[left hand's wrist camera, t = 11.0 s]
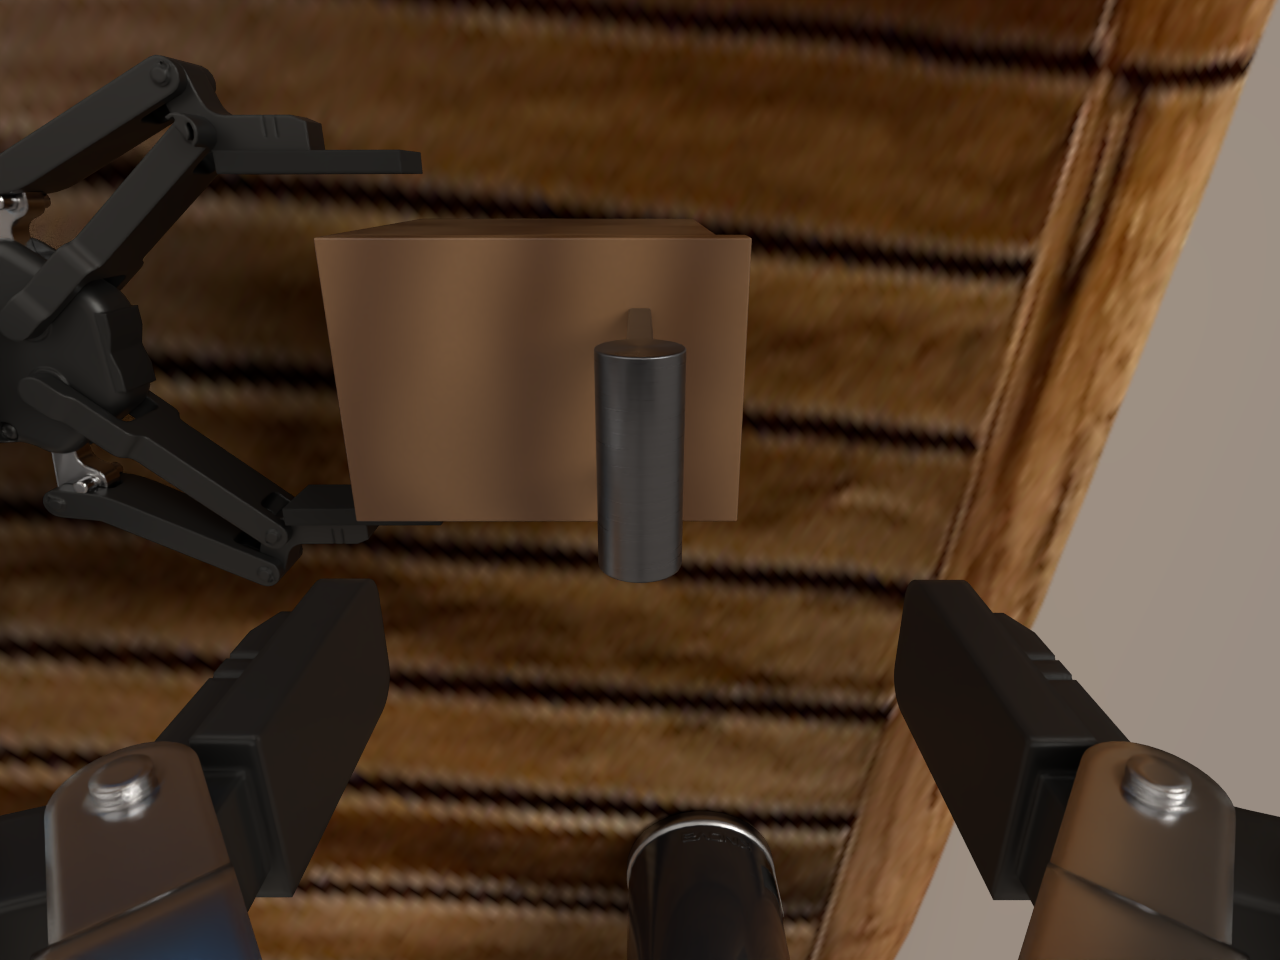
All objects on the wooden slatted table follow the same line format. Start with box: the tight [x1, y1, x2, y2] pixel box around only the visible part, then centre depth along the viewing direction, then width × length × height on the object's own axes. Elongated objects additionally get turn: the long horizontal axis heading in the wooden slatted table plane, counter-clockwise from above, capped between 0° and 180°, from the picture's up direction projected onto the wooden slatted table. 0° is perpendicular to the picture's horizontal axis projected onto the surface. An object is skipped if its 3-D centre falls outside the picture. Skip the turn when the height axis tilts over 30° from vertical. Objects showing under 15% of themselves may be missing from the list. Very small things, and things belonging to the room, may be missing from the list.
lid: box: [314, 235, 752, 583], centre depth 22 cm, size 13×10×9 cm
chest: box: [333, 219, 715, 235], centre depth 31 cm, size 12×10×11 cm
